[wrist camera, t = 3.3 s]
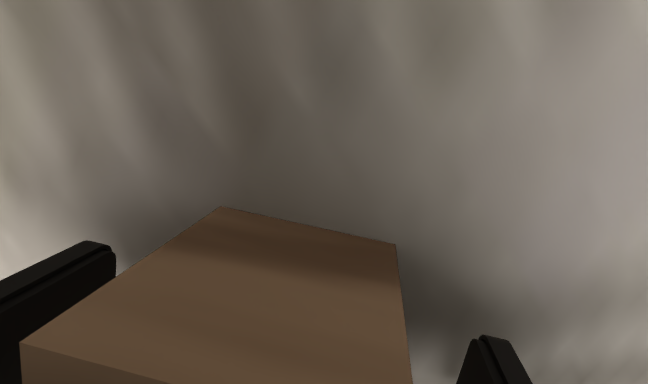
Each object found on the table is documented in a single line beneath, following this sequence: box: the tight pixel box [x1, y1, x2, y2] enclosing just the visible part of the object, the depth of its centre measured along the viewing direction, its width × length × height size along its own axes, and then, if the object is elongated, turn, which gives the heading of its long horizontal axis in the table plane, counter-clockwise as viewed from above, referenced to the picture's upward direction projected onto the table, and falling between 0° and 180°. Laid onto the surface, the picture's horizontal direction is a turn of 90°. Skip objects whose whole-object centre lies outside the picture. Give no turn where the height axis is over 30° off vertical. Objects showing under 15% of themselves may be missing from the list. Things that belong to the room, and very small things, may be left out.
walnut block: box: [19, 206, 413, 384], centre depth 8 cm, size 5×5×6 cm
